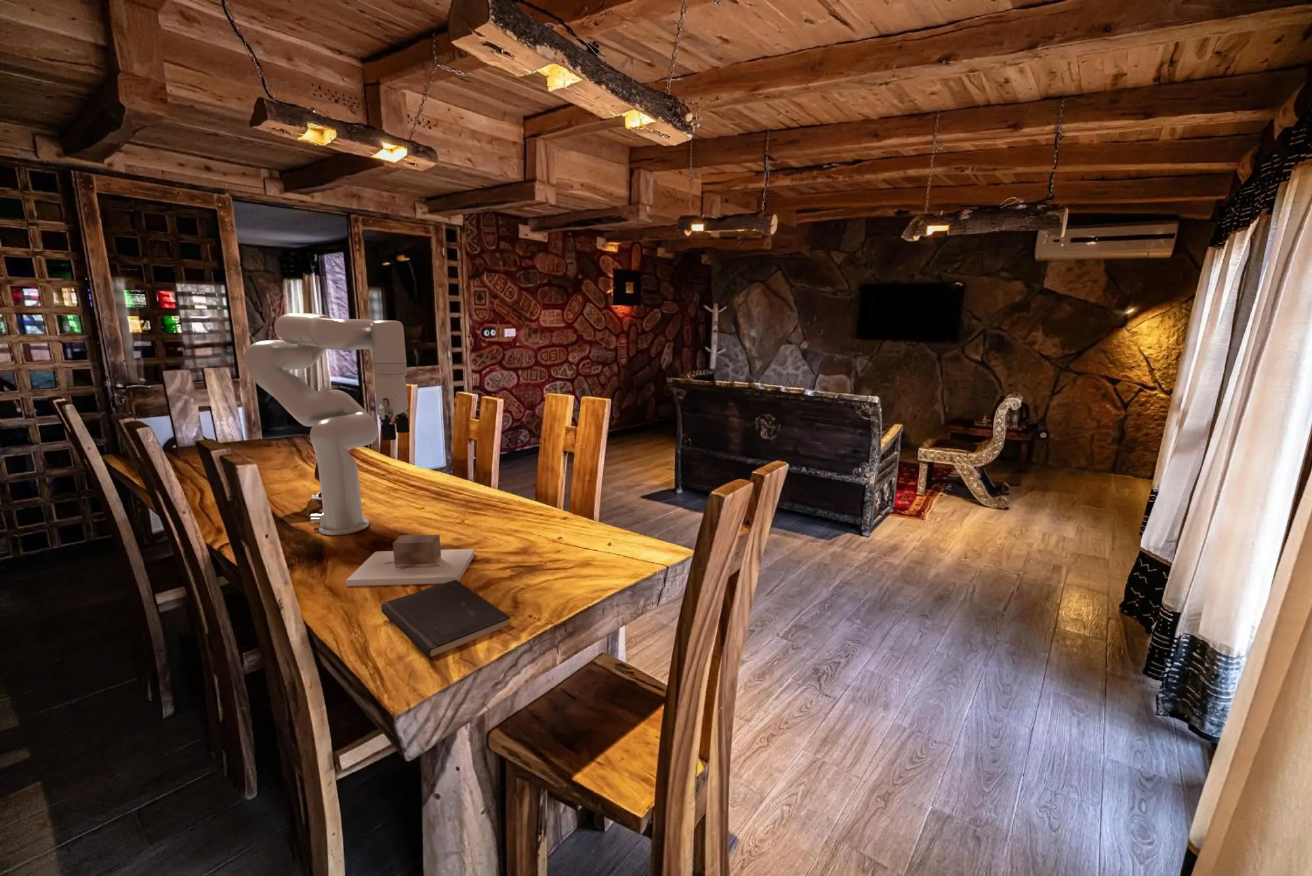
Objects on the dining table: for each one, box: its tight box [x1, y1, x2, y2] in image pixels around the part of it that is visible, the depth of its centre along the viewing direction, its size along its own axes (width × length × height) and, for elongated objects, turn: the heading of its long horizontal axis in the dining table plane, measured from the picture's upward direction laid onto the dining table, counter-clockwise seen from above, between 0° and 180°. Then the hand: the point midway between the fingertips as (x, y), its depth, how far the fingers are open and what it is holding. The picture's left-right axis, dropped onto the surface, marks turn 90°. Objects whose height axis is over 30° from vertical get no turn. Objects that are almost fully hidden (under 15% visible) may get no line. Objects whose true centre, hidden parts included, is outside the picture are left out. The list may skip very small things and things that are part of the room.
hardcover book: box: [380, 580, 512, 659], centre depth 113 cm, size 16×23×2 cm
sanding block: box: [392, 534, 442, 568], centre depth 134 cm, size 9×5×6 cm, turn 94°
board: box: [346, 548, 476, 587], centre depth 135 cm, size 24×16×2 cm, turn 95°
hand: (396, 436), depth 148 cm, fingers open, 9 cm apart
